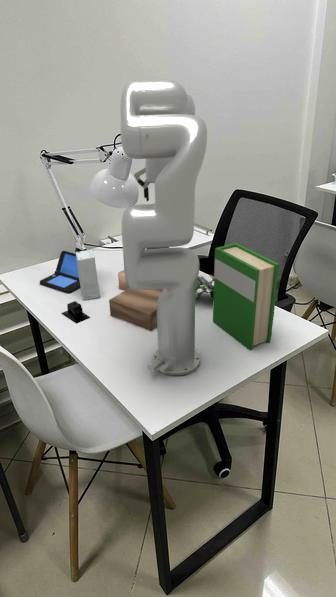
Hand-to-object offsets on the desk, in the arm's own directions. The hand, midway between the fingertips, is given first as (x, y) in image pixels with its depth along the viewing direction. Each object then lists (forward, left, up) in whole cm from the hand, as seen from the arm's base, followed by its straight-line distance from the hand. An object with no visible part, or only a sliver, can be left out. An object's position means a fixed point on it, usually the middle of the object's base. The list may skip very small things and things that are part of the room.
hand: (162, 199), depth 139 cm
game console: (-17, +32, -32) cm, 48 cm away
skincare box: (-19, +18, -31) cm, 41 cm away
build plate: (-32, +11, -32) cm, 47 cm away
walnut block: (-18, -6, -32) cm, 37 cm away
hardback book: (-12, -36, -31) cm, 49 cm away
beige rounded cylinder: (-8, +11, -31) cm, 34 cm away
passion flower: (-2, -17, -31) cm, 36 cm away
